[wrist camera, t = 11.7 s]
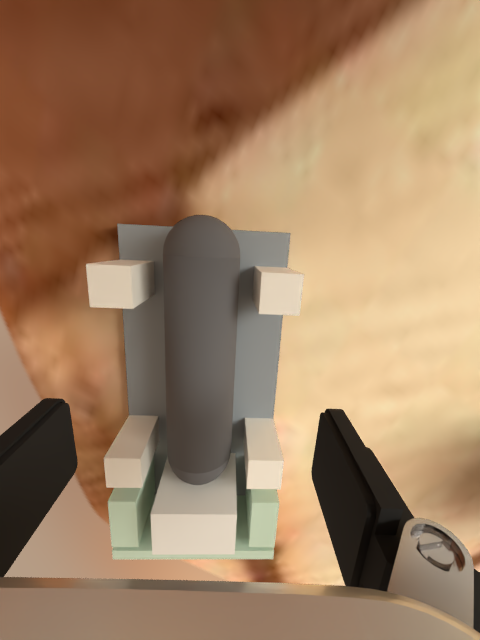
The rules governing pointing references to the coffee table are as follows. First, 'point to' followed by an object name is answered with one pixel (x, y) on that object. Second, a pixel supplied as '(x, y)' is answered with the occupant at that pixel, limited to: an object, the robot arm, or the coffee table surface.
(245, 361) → the board
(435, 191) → the coffee table surface
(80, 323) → the coffee table surface
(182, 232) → the grey rounded bar
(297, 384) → the coffee table surface
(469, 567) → the robot arm
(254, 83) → the coffee table surface
